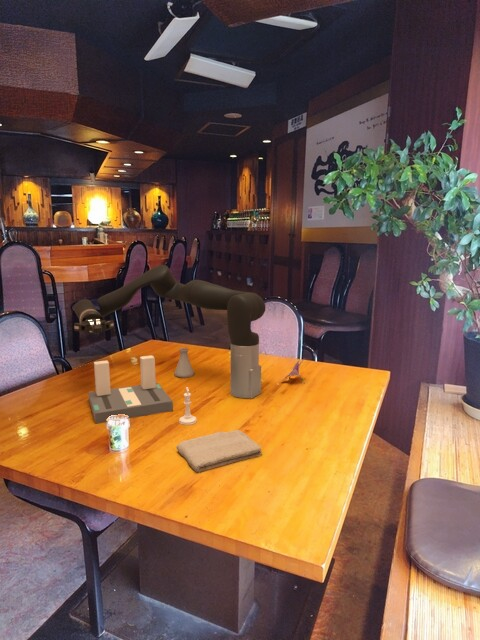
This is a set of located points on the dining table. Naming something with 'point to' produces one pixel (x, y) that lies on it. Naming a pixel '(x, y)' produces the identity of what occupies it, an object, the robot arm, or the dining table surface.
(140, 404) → the switch bank
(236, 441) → the washcloth
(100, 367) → the tab
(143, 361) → the tab
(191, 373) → the flask
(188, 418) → the chess piece
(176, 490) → the dining table surface
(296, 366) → the lily
